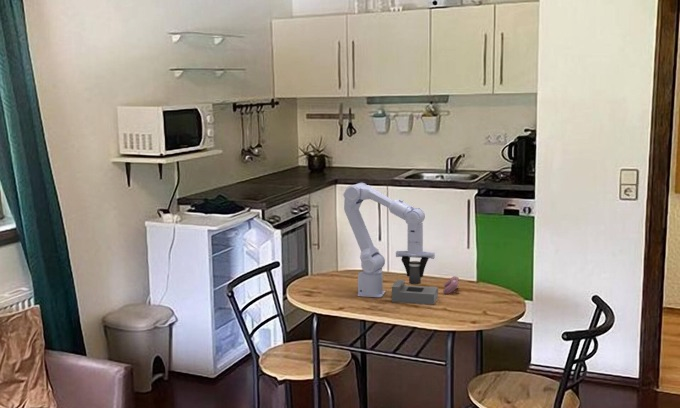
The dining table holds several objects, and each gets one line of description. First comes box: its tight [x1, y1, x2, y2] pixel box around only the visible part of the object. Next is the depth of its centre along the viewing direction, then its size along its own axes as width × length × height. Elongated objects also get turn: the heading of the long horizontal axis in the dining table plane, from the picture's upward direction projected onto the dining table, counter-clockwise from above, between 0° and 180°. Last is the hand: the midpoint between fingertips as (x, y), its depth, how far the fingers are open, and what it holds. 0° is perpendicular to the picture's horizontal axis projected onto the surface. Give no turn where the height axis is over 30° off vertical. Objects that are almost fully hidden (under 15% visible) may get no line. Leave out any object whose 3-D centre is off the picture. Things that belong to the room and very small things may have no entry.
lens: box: [408, 260, 422, 285], centre depth 263 cm, size 5×5×8 cm
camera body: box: [391, 279, 439, 306], centre depth 265 cm, size 16×10×6 cm, turn 74°
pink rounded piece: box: [442, 276, 460, 295], centre depth 276 cm, size 10×5×7 cm, turn 169°
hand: (415, 276), depth 264 cm, fingers closed on lens, 4 cm apart
